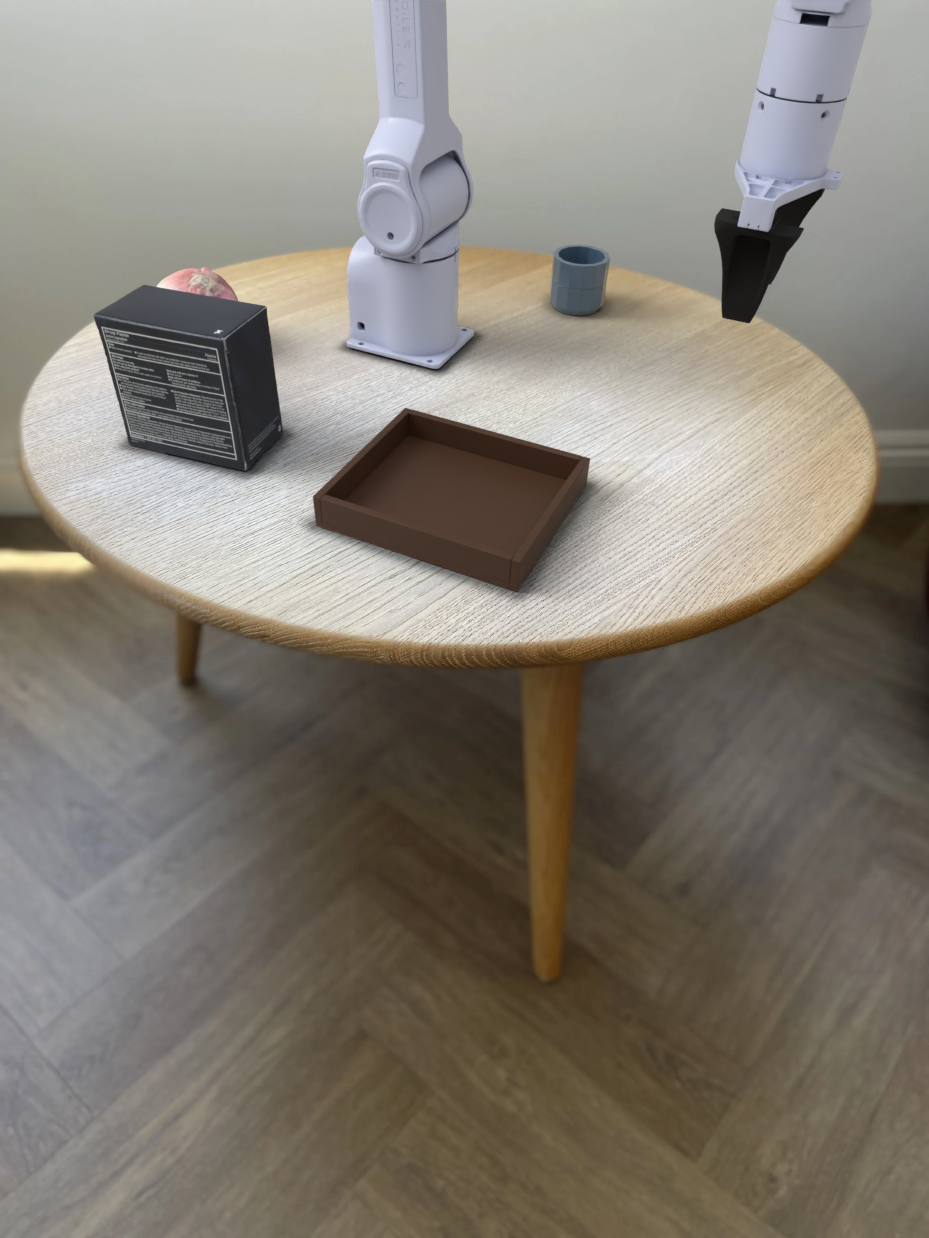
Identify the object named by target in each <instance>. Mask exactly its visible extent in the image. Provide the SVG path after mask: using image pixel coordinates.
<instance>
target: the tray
mask: <svg viewBox="0 0 929 1238" xmlns="http://www.w3.org/2000/svg"><path fill="white" fill-rule="evenodd" d="M590 463H591V458H590V457H588V456H584V455H580V454H577V453H572V452H569V451H566V450H561V449H558V448H555V447H551V446H548V445H544V444H541V443H536V442H533V441H529V440H526V439H521V438H518V437H514V436H511V435H507V434H503V433H500V432H496V431H494V430H493V431H492V430H489V429H485V428H481V427H479V426H474V425H470V424H466V423H463V422H460V421H455V420H452V419H449V418H445V417H441V416H437V415H434V414H431V413H427V412H423V411H419V410H417V409H416V410H415V409H412V408H409V407H404V408H403V409H402V410H401V411H400V412H399V413H398V414H397V415H396V416H395V417H394V418H393V419H392V420H391V421H389V423H388V424H386V425H385V426H384V428H382V429H381V430H380V431H379V432H378V433H377V434H375V436H374V437H373V438H372V439H371V440H370V441H368V443H367V444H365V446H363V447H362V448H361V449H360V451H358V452H357V453H356V454H355V455H354V456H353V457H352V458H350V460H349V461H348V462H347V463H346V464H345V465H344V466H342V468H340V469H339V470H338V472H337V473H335V474H334V476H332V477H331V478H329V480H328V481H327V482H326V483H325V484H324V485H323V486H322V487H321V488H320V489H319V490H318V491H316V493H314V495H312V501H313V509H314V518H315V526H316V527H319V528H323V529H324V530H325V529H326V530H329V531H331V532H334V533H338V534H340V535H344V536H347V537H349V538H352V539H355V540H359V541H362V542H364V543H368V544H371V545H374V546H377V547H380V548H383V549H386V550H389V551H392V552H395V553H398V554H401V555H404V556H407V557H410V558H412V559H413V558H414V559H416V560H419V561H422V562H425V563H428V564H430V565H431V564H432V565H434V566H437V567H441V568H444V569H447V570H449V571H453V572H456V573H459V574H462V575H465V576H468V577H471V578H474V579H477V580H480V581H482V582H486V583H489V584H492V585H495V586H498V587H501V588H505V589H507V590H509V591H513V592H516V593H517V592H519V590H520V589H521V588H522V586H523V584H524V582H526V580H527V578H528V576H529V575H530V573H531V572H532V570H533V569H534V567H535V565H537V563H538V562H539V560H540V558H541V557H542V555H543V553H545V551H546V549H547V547H548V546H549V544H550V543H551V541H552V540H553V538H554V537H555V535H556V533H557V532H558V530H559V529H560V528H561V526H562V524H563V523H564V521H565V520H566V518H567V517H568V515H569V514H570V512H571V510H572V509H573V508H574V506H575V505H576V503H577V501H578V500H579V498H580V497H581V495H582V493H583V492H584V490H585V489H586V487H587V485H588V476H589V470H590Z"/></svg>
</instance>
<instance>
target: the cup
mask: <svg viewBox="0 0 929 1238" xmlns="http://www.w3.org/2000/svg"><path fill="white" fill-rule="evenodd" d="M551 262H552V263H551V274H550V283H549V292H548V293H549V294H548V295H549V296H548V299H549V302H550V304H552V307H553V308H554V309H555V310H557V311H558V312H559V313H562V314H566V315H569V316H570V315H571V316H588V315H592V314H595V313H596V312H597V311H599V309H600V308H601V307H602V306H603V305H604V304H605V297H606V291H607V290H606V289H607V284H608V277H609V268H610V263H611V257H610V254H609V252H607V251H606V250H604V249H603V248H600V247H596V246H594V245H588V244H587V245H586V244H580V243H579V244H567V245H563V246H560V247H557V248H556V249H555V250H554V251H553V252H552V260H551Z"/></svg>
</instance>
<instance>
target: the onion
mask: <svg viewBox="0 0 929 1238" xmlns="http://www.w3.org/2000/svg"><path fill="white" fill-rule="evenodd" d="M156 287H160V288H166V289H171V290H177V291H183V292H189V293H194V294H200V295H205V296H211V297H217V298H223V299H229V300H234V301H239V299H238V297H237V294H236V292H235V290H234V289H233V288H232V286H231V285H230V284H229V283H228V282H227V280H225V278H224V277H222V276H221V275H220V274H218V273H217V272H214V271H213V270H212V269H211V268H210V267H209V266H203V267H189V268H187V267H186V268H184V269H180V270H178V271H175V272H173V273H171V274H169V275H168V276H166V277H164V278H163V279H162V280H161V281H159V283H157V285H156Z"/></svg>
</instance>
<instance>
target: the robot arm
mask: <svg viewBox="0 0 929 1238" xmlns="http://www.w3.org/2000/svg"><path fill="white" fill-rule="evenodd" d="M872 1H873V0H776V1H775V4H774V7H773V10H772V14H771V15H772V16H771V19H770V25H769V29H768V34H767V38H766V41H765V47H764V51H763V56H762V60H761V65H760V69H759V73H758V77H757V82H756V86H755V90H754V94H753V99H752V104H751V109H750V112H749V116H748V121H747V125H746V131H745V134H744V139H743V143H742V148H741V152H740V157H739V158H738V159H736V162H735V165H734V170H733V176H734V178H735V180H736V183H737V185H738V188H739V189H740V192H741V195H742V197H743V199H742V204H741V209H740V210H735V209H729V208H725V207H724V208H723V207H722V208H720V210H719V211H718V212H717V214H716V215H715V217H714V222H713V223H714V224H713V226H714V227H713V228H714V234H715V237H716V240H717V244H718V248H719V253H720V260H721V300H720V302H721V303H720V305H721V318H723V319H725V320H730V321H734V322H735V321H736V322H739V323H744V324H750V323H751V322H752V321H753V319H754V318H755V315H756V314H757V311H758V310H759V307H760V306H761V304H762V301H763V300H764V297H765V295H766V292H767V290H768V288H769V285H770V286H771V285H772V283H773V282H774V280H775V279H776V277H777V275H778V273H779V271H780V270H781V267H782V265H783V263H784V261H785V258H786V256H787V254H788V253H789V251H790V250H791V249H792V248H793V246H794V245H795V244H796V243H797V241H799V240H800V238H801V236H802V234H803V232H804V230H805V228H804V227H801V225H802V222H803V221H804V219H805V218H806V217H807V215H808V214H809V213H810V211H811V210H812V209H813V207H814V206H815V205H816V203H817V202H818V201H819V200H820V199H821V198H822V197H823V195H824V193H825V191H826V190H833V191H835V190H836V191H837V190H839V189H840V187H841V185H842V182H843V179H844V176H845V174H844V172H843V171H841V170H837V169H830V168H828V166H829V162H830V160H831V155H832V152H833V149H834V145H835V142H836V139H837V135H838V131H839V128H840V124H841V121H842V118H843V114H844V111H845V107H846V104H847V101H848V96H849V94H850V91H851V87H852V84H853V80H854V77H855V73H856V70H857V68H858V63H859V60H860V56H861V53H862V49H863V45H864V42H865V38H866V35H867V33H868V28H869V25H870V22H871V18H872V15H873V8H872V7H873V6H872ZM370 2H371V14H372V15H371V17H372V29H373V31H372V32H373V43H374V59H375V70H376V71H375V72H376V85H377V86H376V87H377V99H378V115H379V119H378V123H377V126H376V128H375V130H374V132H373V135H372V137H371V139H370V141H369V143H368V145H367V147H366V150H365V152H364V154H363V161H362V162H363V181H362V182H363V183H362V187H361V189H360V192H359V195H358V198H357V204H356V205H357V206H356V207H357V208H356V211H357V212H356V213H357V218H358V222H359V226H360V228H361V231H362V234H363V235H362V236H360V237H359V238H358V239H357V240H356V242H355V243H354V245H353V247H352V249H351V250H350V254H349V257H348V261H347V268H346V288H347V304H348V305H347V306H348V316H349V317H348V319H349V333H350V334H349V335H350V338H349V339H347V340H346V347H348V348H351V349H353V350H358V351H361V352H366V353H370V354H374V355H378V356H381V357H385V358H388V359H389V358H390V359H393V360H398V361H400V362H405V363H408V364H409V363H410V364H412V365H417V366H420V367H423V368H428V369H433V370H437V369H438V370H439V369H440V368H442V366H443V365H445V363H446V362H448V361H449V360H450V359H451V358H452V357H453V356H454V355H455V354H456V353H457V352H458V351H459V350H460V349H461V348H463V346H465V345H466V344H467V343H468V342H469V341H470V340H471V339H472V338H473V337H474V336H475V330H474V329H472V328H468V327H464V326H460V325H459V286H460V285H459V283H460V281H459V280H460V279H459V278H460V221H461V220H463V219H464V218H465V217H466V216H467V214H468V213H469V211H470V209H471V207H472V203H473V199H474V183H473V179H472V174H471V172H470V170H469V168H468V165H467V163H466V160H465V155H464V148H463V134H462V133H461V131H460V129H459V127H458V126H457V125H456V123H455V121H453V119H452V117H451V116H450V110H449V109H450V108H449V107H450V106H449V103H450V102H449V101H450V100H449V63H448V60H449V59H448V22H447V21H448V20H447V18H448V17H447V0H371V1H370Z"/></svg>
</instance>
